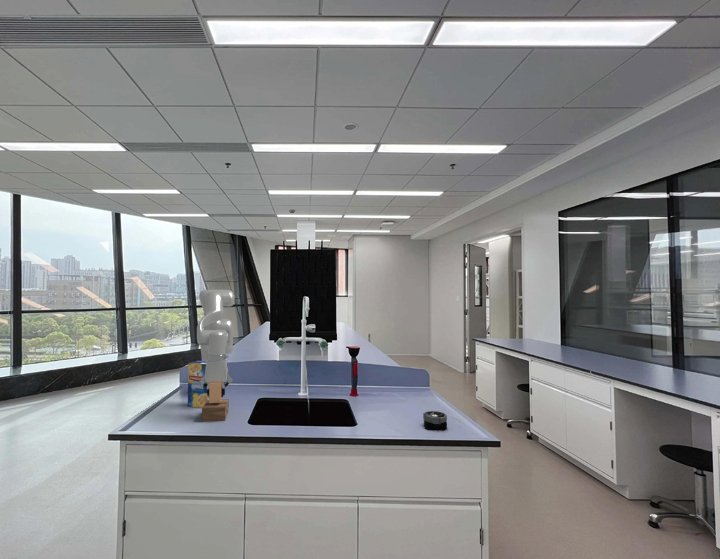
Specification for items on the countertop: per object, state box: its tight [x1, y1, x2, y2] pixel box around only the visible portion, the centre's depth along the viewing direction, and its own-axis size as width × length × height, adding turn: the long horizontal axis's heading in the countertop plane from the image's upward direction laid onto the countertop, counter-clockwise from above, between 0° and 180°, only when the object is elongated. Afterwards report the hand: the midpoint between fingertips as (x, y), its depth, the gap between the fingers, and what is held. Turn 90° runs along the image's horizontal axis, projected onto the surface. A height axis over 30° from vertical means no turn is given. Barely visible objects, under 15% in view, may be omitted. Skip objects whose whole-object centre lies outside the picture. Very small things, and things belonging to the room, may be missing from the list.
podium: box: [201, 398, 230, 423], centre depth 188 cm, size 14×10×6 cm
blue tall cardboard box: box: [187, 360, 209, 409], centre depth 206 cm, size 7×11×22 cm, turn 79°
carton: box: [209, 382, 224, 403], centre depth 188 cm, size 7×5×9 cm
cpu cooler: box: [422, 410, 448, 431], centre depth 177 cm, size 10×6×10 cm
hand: (216, 396), depth 188 cm, fingers closed on carton, 5 cm apart
